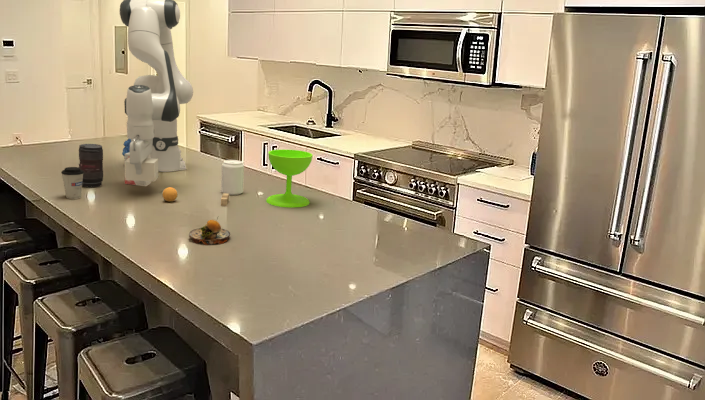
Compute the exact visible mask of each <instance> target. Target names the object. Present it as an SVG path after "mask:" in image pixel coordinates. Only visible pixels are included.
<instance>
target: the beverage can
mask: <svg viewBox="0 0 705 400" xmlns="http://www.w3.org/2000/svg"><path fill="white" fill-rule="evenodd" d="M243 162H244V161H242V160H236V159H225V160H223V162H222V164H221V180H220V181H221V184H220V185H221V187H220V189H221V190H220V191H221V193H222V194H223V193H227V194H229V196H237V195H241V194H243V192H244V176H245V173H244V172H245V165H244V163H243Z"/></svg>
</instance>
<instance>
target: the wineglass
mask: <svg viewBox="0 0 705 400" xmlns="http://www.w3.org/2000/svg"><path fill="white" fill-rule="evenodd" d="M267 155H268V160H269V163H270V165H271V166H272V167H273V169H274V170H275V171H276V172H278V173H279V174H281V175H284V176H286V185H285V192H284V193H277V194H272V195H270V196H268V197H266V199H265V200H266V203H267V204H269V205H271V206H275V207H278V208H279V207H280V208H289V209H290V208H291V209H292V208H302V207H306V206H309V205H310V202H311V201H310V200H309V199H308V198H307V197H305V196H302V195H299V194H295V193H292V185H293V184H292V180H293V176H297V175H300V174H302V173H304V172H305V171H306V170H307V169H308V168H309V167H310V165H311V163H312V160H313V154H312V153H311V152H308V151H304V150H297V149H284V148H283V149H272V150H269V151H268V152H267Z"/></svg>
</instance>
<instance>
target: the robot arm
mask: <svg viewBox="0 0 705 400" xmlns="http://www.w3.org/2000/svg"><path fill="white" fill-rule="evenodd" d="M119 17H120V20H121V22H122V24H124V25H125V26H126V27H127V28H128V29H127V47H128V50H129V51H130V54H131V55H132V56H133V57H135V58H136V59H137V60H139V61H141V62H143V63H145V64H148V66H150V67H151V68H153V69H154V71H155V73H157V74H156V75H155V74H146V75H139V76H138V77H137V78H136V79H135V80H134V82H133V85H131V86H129V87H127V91H126V97H125V98H124V100H123V101H124V102H123V103H124V104H123V105H124V114H125V115H126V116H127V120H126V138H128V139H131V143H130V164H135V169H136V174H138V175H140V174H141V173H142V168H141V165H142V162H143V161H144V160H145V159H146V158H148V156H149V155H150V154H151V158H152V159H158V172H175V171H176V172H177V171H185V170H187V167H186V162H185V160H183V158H182V154H181V153H182V150H181V149H180V147H179V136H178V119H177V118H179V117H180V113H181V105H184V104H188V103H189V102H190V101H191V100H192V99H193V95H194V87H193V85H192V83H191V82H190V81H189V80H188V79H186V78H185V76H184V75H183V74H182V73H181V71H180V69H179V67H178V66H177V62H176V58H175V53H174V46H173V45H174V44H173V36H172V31H171V30H172V29H173V28H175V27H176V26H177V25H179V23H180V19H181V11H180V7H179V5H178V3H177V2H176V1H175V0H122V1H121V3H120V5H119Z"/></svg>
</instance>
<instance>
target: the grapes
mask: <svg viewBox="0 0 705 400" xmlns="http://www.w3.org/2000/svg"><path fill="white" fill-rule="evenodd" d="M130 143H131V139H129V138H128V139H127V140H125V141H123V148H122V153H121V155H122V156H123V157H124V160H125V154H126V153H129V152H130Z"/></svg>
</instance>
